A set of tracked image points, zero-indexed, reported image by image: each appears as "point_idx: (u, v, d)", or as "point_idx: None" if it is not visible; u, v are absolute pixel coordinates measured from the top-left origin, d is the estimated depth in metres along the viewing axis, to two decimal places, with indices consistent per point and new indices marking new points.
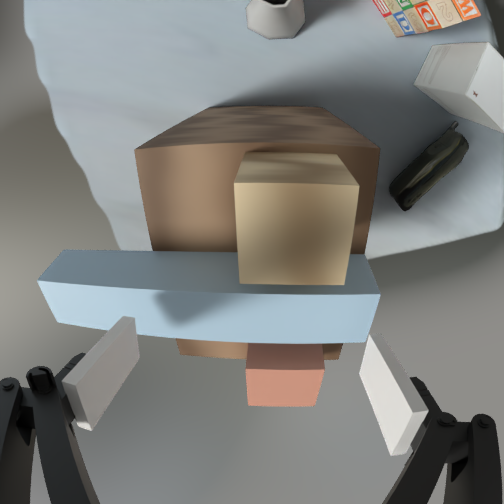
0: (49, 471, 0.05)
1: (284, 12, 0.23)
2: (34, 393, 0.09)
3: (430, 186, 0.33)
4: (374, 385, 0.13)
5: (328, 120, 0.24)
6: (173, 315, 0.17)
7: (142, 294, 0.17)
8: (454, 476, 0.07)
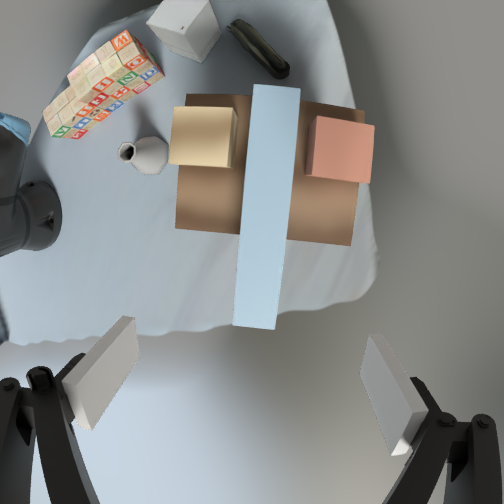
0: (49, 471, 0.05)
1: (143, 148, 0.44)
2: (34, 393, 0.09)
3: (268, 47, 0.41)
4: (374, 385, 0.13)
5: None
6: (263, 219, 0.26)
7: (244, 236, 0.26)
8: (454, 476, 0.07)
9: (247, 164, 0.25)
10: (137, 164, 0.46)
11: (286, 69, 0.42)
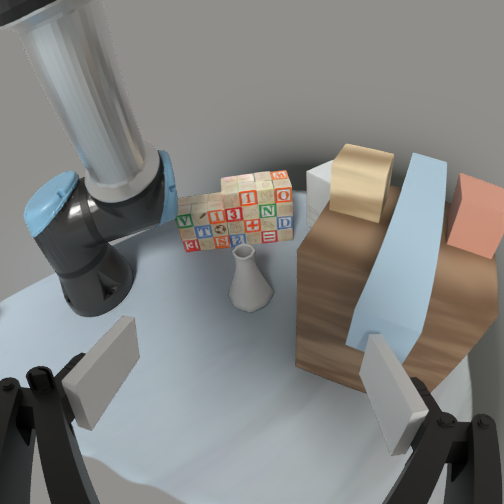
0: (49, 471, 0.05)
1: (256, 266, 0.46)
2: (34, 393, 0.09)
3: None
4: (374, 385, 0.13)
5: None
6: (418, 215, 0.21)
7: (396, 221, 0.20)
8: (454, 476, 0.07)
9: (405, 182, 0.24)
10: (240, 280, 0.46)
11: None
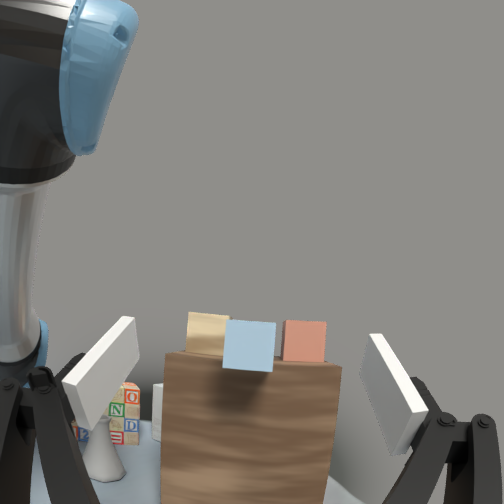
0: (49, 471, 0.05)
1: (110, 436, 0.35)
2: (34, 393, 0.09)
3: None
4: (374, 385, 0.13)
5: None
6: None
7: None
8: (454, 476, 0.07)
9: None
10: (94, 446, 0.32)
11: None
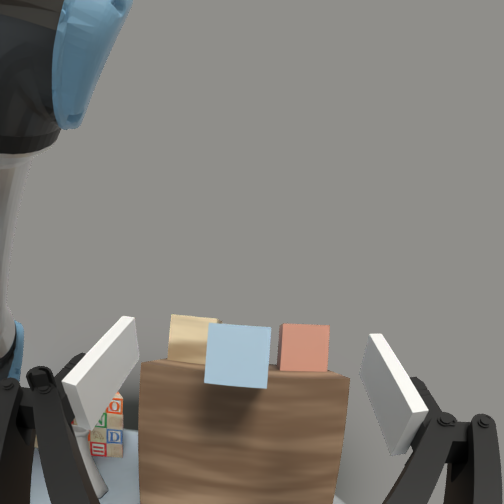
0: (49, 471, 0.05)
1: (89, 451, 0.29)
2: (34, 393, 0.09)
3: None
4: (374, 385, 0.13)
5: None
6: None
7: None
8: (454, 476, 0.07)
9: None
10: None
11: None
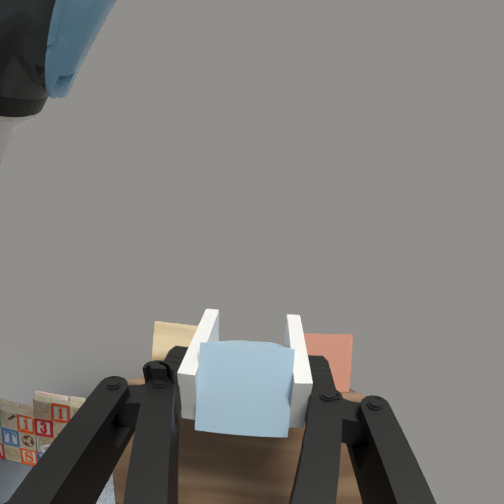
0: (136, 465, 0.07)
1: None
2: (147, 385, 0.11)
3: None
4: None
5: None
6: None
7: (228, 341, 0.21)
8: (360, 461, 0.09)
9: None
10: None
11: None
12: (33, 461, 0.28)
